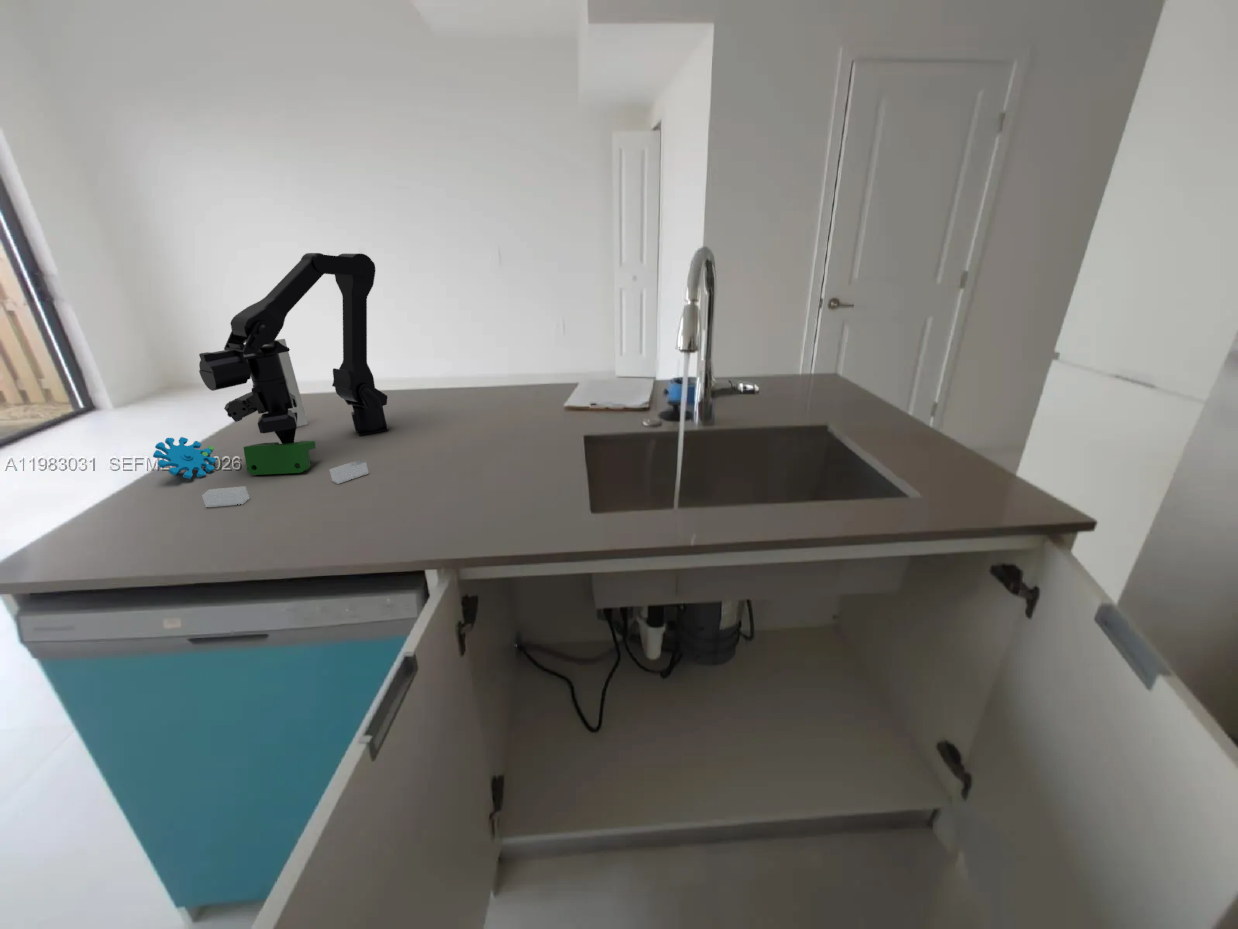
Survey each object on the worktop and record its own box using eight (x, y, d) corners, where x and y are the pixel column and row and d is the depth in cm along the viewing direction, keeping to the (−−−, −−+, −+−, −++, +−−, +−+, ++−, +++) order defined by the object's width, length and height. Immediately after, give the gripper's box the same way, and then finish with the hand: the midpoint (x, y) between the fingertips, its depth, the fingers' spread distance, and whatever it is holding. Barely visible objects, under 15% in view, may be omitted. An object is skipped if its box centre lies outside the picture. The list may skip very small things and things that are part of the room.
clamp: (313, 484, 114) (325, 443, 112) (297, 490, 108) (310, 447, 107) (256, 464, 113) (267, 422, 111) (237, 469, 107) (249, 425, 105)
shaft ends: (367, 469, 109) (364, 458, 108) (370, 477, 105) (367, 465, 105) (207, 502, 98) (203, 490, 97) (204, 512, 94) (200, 500, 93)
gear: (179, 480, 103) (142, 441, 103) (167, 499, 105) (131, 460, 105) (233, 464, 113) (200, 429, 113) (221, 482, 115) (188, 447, 115)
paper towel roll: (265, 429, 133) (238, 341, 124) (287, 421, 138) (263, 336, 129) (286, 433, 130) (260, 342, 122) (308, 424, 135) (284, 337, 127)
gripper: (225, 373, 113) (248, 444, 120) (214, 396, 98) (241, 475, 104) (287, 366, 118) (305, 434, 124) (285, 386, 103) (306, 462, 109)
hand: (289, 450), depth 115 cm, fingers closed
